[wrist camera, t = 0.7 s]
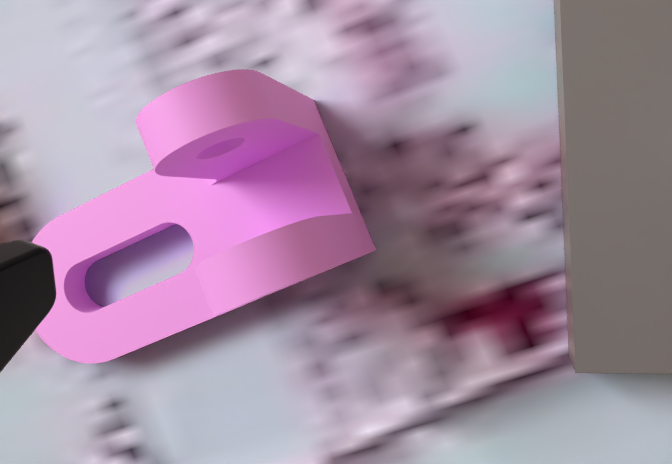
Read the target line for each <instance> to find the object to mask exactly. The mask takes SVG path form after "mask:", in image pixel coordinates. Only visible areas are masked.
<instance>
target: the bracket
mask: <svg viewBox="0 0 672 464" xmlns="http://www.w3.org/2000/svg"><path fill="white" fill-rule="evenodd" d="M136 125H137V127H138V130H139V132H140V135H141V137H142V140H143V142H144V145H145V147H146V150H147V152H148V155H149V157H150V160H151V162H152V165H153V167H154V169H152V170H150V171H148V172H146V173H144V174H142V175H140V176H138V177H136V178H134V179H132V180H130V181H128V182H126V183H124V184H122V185H120V186H118V187H116V188H114V189H112V190H110V191H108V192H106V193H104V194H102V195H100V196H98V197H96V198H94V199H92V200H90V201H88V202H86V203H84V204H82V205H80V206H78V207H77V208H75V209H73V210H71V211H69V212H67V213H65V214H63V215H61V216H59V217H57V218H55V219H53V220H52V221H50V222H49V223H48V224H46V225H45V226H44V227H43V228H42V229H41V230H40V231H39V233H38V234H37V235H36V236H35V238H34V239H33V241H32V243H34V244H37V245H40V246H42V247H45V248H46V249H48V250H49V252H50V253H51V255H52V259H53V268H54V276H55V284H56V300H55V303H54V305H53V307H52V309H51V310H50V312H49V313H48V314H47V316H46V317H45V318H44V319H43V321H42V322H41V323H40V324H39V325H38V327H37V328H36V329H35V331H36V332H37V333H38V335H39V336H40V337H41V339H42V340H43V341H44V342H45V343H46V344H47V345H48V346H49V347H50V348H52V349H53V350H54V351H56V352H57V353H58V354H60V355H62V356H64V357H66V358H68V359H71V360H74V361H77V362H82V363H101V362H106V361H109V360H112V359H115V358H117V357H120V356H122V355H125V354H127V353H130V352H132V351H135V350H137V349H139V348H142V347H144V346H147V345H149V344H151V343H154V342H156V341H159V340H161V339H164V338H166V337H168V336H171V335H173V334H176V333H178V332H180V331H183V330H185V329H188V328H190V327H192V326H195V325H197V324H200V323H202V322H205V321H207V320H209V319H212V318H214V317H217V316H219V315H221V314H224V313H226V312H229V311H231V310H234V309H236V308H238V307H241V306H243V305H246V304H248V303H250V302H253V301H255V300H258V299H260V298H262V297H265V296H267V295H270V294H272V293H275V292H277V291H279V290H282V289H284V288H287V287H289V286H291V285H294V284H296V283H299V282H301V281H304V280H306V279H308V278H311V277H313V276H316V275H318V274H320V273H323V272H325V271H328V270H330V269H333V268H335V267H337V266H340V265H342V264H345V263H347V262H349V261H352V260H354V259H357V258H359V257H361V256H364V255H366V254H369V253H371V252H374V251H376V249H375V246H374V244H373V241H372V239H371V237H370V234H369V232H368V229H367V227H366V225H365V222H364V220H363V217H362V215H361V213H360V210H359V208H358V205H357V203H356V201H355V198H354V196H353V193H352V191H351V188H350V186H349V184H348V181H347V179H346V176H345V174H344V172H343V169H342V167H341V164H340V162H339V160H338V157H337V155H336V152H335V150H334V148H333V145H332V143H331V140H330V138H329V136H328V133H327V131H326V128H325V126H324V123H323V121H322V119H321V116H320V114H319V111H318V109H317V107H316V104H315V102H314V100H313V99H311V98H309V97H307V96H305V95H303V94H301V93H299V92H297V91H295V90H293V89H291V88H289V87H287V86H285V85H284V84H282V83H280V82H278V81H276V80H274V79H272V78H270V77H268V76H266V75H264V74H262V73H260V72H258V71H254V70H231V71H224V72H219V73H215V74H211V75H207V76H204V77H201V78H198V79H195V80H192V81H190V82H187V83H184V84H182V85H180V86H178V87H175V88H173V89H171V90H169V91H168V92H166V93H164V94H162V95H160V96H159V97H157V98H156V99H154V100H153V101H151V102H150V103H149V104H148V105H146V106H145V107H144V108H143V109H142V110H141V111H140V113H139V114H138V116H137V118H136ZM174 224H179V225H180V226H182V227H183V228H185V229H186V230H187V232H188V233H189V234H190V236H191V238H192V241H193V245H194V255H193V259H192V261H191V263H190V265H189V266H188V268H187V269H186V270H185V271H183V272H182V273H180V274H178V275H176V276H173V277H171V278H169V279H166V280H164V281H162V282H160V283H157V284H155V285H153V286H151V287H148V288H146V289H144V290H142V291H139V292H137V293H135V294H133V295H130V296H128V297H126V298H124V299H121V300H119V301H117V302H115V303H112V304H110V305H108V306H105V307H102V306H99V305H97V304H96V303H94V302H93V301H92V300H91V299H90V297H89V296H88V294H87V291H86V288H85V276H86V273H87V270H88V268H89V267H90V266H91V265H92V264H93V263H94V262H96V261H97V260H100V259H102V258H104V257H106V256H108V255H110V254H112V253H114V252H117V251H119V250H121V249H123V248H125V247H127V246H129V245H132V244H134V243H136V242H138V241H140V240H142V239H144V238H147V237H149V236H151V235H153V234H155V233H157V232H159V231H162V230H164V229H166V228H168V227H170V226H172V225H174Z"/></svg>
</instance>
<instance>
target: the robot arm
mask: <svg viewBox="0 0 672 464" xmlns="http://www.w3.org/2000/svg"><path fill="white" fill-rule="evenodd" d="M55 300H56V284H55V276H54V268H53V259H52V255H51V253H50V252H49V250H48V249H46V248H45V247H42V246H40V245H37V244H34V243H32V242H29V241H25V240H17V241H12V242H8V243H3V244H0V372H1V371H2V370H3V368H4V367H5V366H6V365H7V364H8V362H9V361H10V360H11V359H12V357H13V356H14V355H15V354H16V352H17V351H18V350H19V349H20V348H21V346H22V345H23V344H24V343H25V341H26V340H27V339H28V338H29V336H30V335H31V334H32V333H33V332H34V330H35V329H36V328H37V327H38V325H39V324H40V323H41V322H42V321H43V319H44V318H45V317H46V316H47V314H48V313H49V312H50V310H51V309H52V307H53V305H54V303H55Z"/></svg>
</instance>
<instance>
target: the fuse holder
mask: <svg viewBox="0 0 672 464" xmlns="http://www.w3.org/2000/svg"><path fill="white" fill-rule="evenodd" d="M554 15H555V39H556V62H557V86H558V109H559V133H560V156H561V180H562V203H563V227H564V250H565V274H566V297H567V321H568V344H569V357H570V360H571V362H572V365H573V367H574V370H575V372H576V373H642V374H672V0H554Z"/></svg>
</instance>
